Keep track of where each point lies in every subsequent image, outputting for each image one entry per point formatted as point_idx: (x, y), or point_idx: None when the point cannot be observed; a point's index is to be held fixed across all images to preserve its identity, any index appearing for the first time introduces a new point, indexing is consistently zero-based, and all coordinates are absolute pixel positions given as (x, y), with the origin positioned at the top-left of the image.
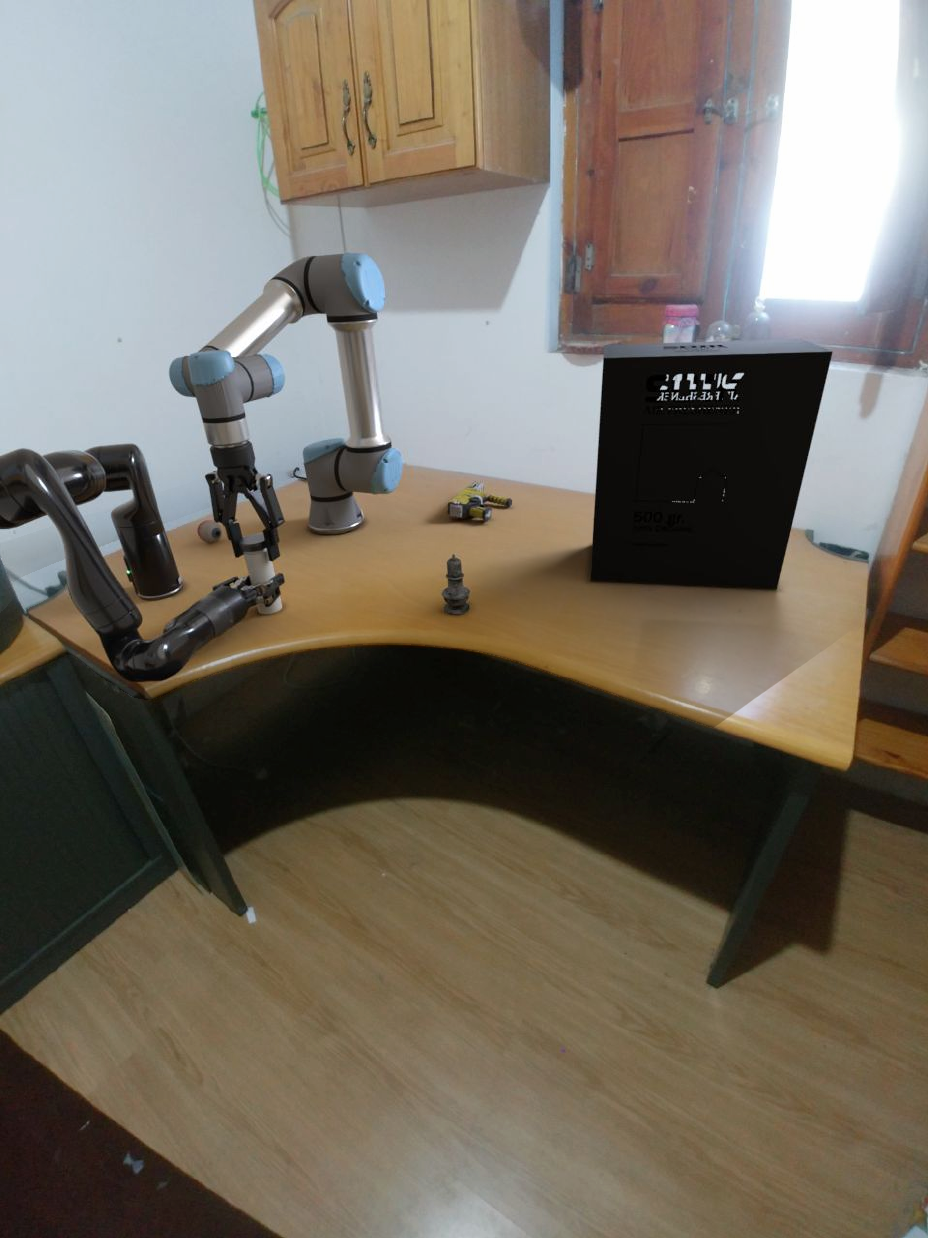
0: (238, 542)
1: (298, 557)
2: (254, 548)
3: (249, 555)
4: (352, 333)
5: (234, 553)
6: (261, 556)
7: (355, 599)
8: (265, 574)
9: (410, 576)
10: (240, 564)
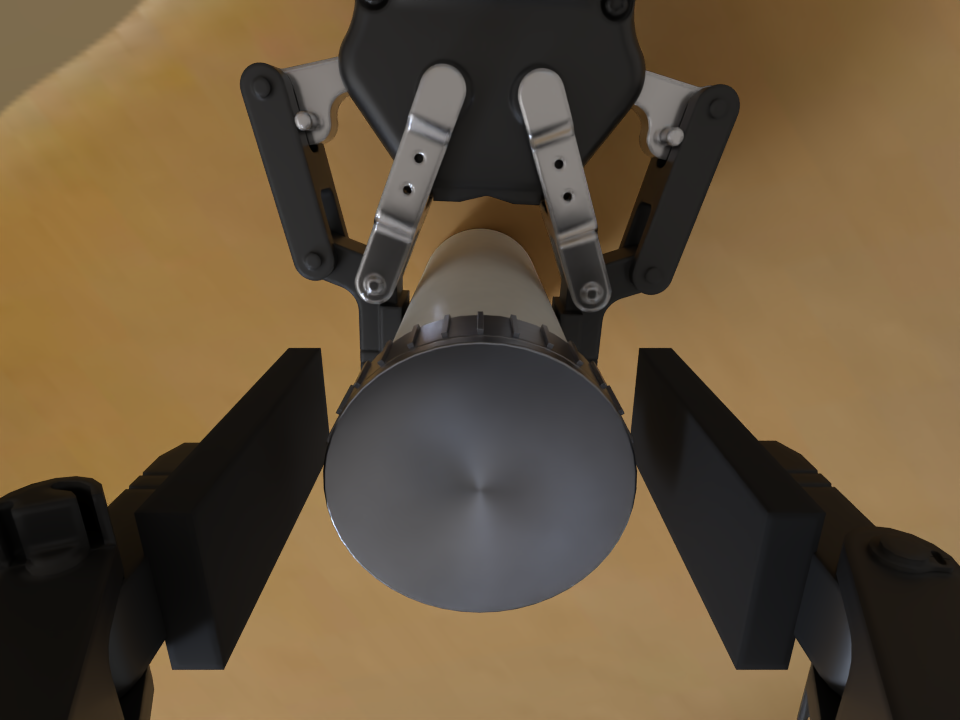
0: (670, 450)
1: (631, 704)
2: (390, 352)
3: None
4: None
5: (680, 360)
6: None
7: (150, 450)
8: (408, 309)
9: None
10: None
